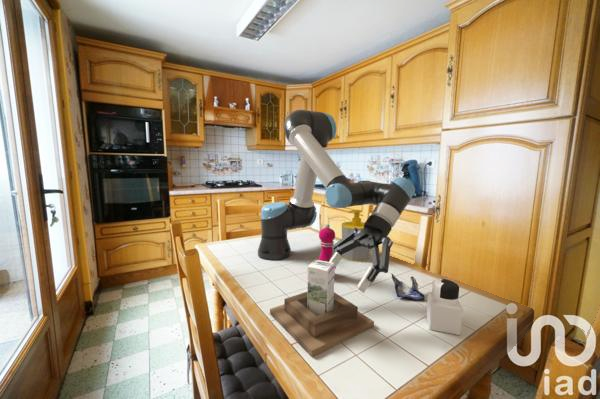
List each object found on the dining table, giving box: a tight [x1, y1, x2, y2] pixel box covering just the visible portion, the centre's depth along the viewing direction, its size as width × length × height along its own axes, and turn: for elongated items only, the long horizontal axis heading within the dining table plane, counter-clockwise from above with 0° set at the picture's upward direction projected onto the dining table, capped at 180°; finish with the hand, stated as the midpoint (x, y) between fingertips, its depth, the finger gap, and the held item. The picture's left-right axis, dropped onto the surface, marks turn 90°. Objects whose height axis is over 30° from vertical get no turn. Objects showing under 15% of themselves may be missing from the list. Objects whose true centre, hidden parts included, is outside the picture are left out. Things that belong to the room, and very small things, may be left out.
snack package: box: [391, 273, 425, 302], centre depth 88 cm, size 12×6×12 cm
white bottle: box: [425, 278, 464, 336], centre depth 70 cm, size 7×7×12 cm
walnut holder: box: [269, 291, 375, 358], centre depth 73 cm, size 20×20×5 cm
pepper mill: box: [317, 223, 337, 278], centre depth 99 cm, size 7×7×20 cm
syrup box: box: [306, 259, 336, 316], centre depth 72 cm, size 6×6×14 cm
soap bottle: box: [341, 209, 370, 262], centre depth 120 cm, size 13×13×21 cm
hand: (342, 280), depth 76 cm, fingers open, 13 cm apart
